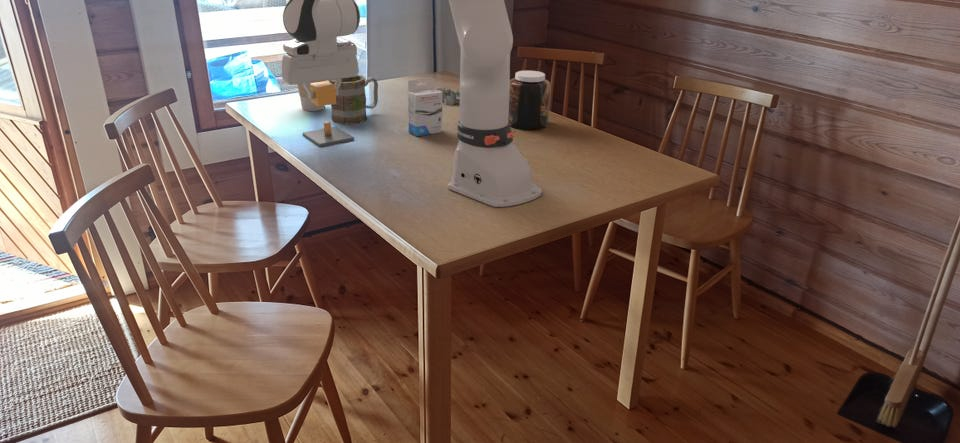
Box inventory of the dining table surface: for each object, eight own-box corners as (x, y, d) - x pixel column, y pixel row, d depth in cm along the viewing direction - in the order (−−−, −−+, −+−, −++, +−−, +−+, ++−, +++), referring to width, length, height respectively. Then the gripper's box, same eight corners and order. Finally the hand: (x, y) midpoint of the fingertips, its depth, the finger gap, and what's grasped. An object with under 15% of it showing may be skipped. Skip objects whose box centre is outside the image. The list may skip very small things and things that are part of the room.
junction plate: (354, 140, 182) (353, 124, 180) (319, 146, 177) (318, 131, 175) (336, 129, 190) (335, 114, 188) (302, 135, 185) (301, 120, 183)
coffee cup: (334, 107, 210) (330, 58, 203) (313, 113, 203) (308, 64, 197) (313, 102, 214) (309, 54, 208) (292, 108, 207) (287, 59, 201)
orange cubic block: (336, 103, 179) (335, 85, 177) (318, 106, 176) (317, 87, 174) (328, 99, 182) (326, 81, 180) (310, 101, 180) (309, 83, 177)
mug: (342, 126, 193) (339, 85, 187) (323, 117, 200) (320, 77, 195) (388, 116, 202) (387, 77, 197) (368, 108, 209) (366, 70, 204)
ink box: (416, 137, 186) (415, 84, 179) (408, 132, 189) (406, 80, 183) (443, 132, 190) (443, 80, 184) (434, 127, 194) (433, 76, 187)
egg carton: (466, 103, 217) (466, 91, 216) (445, 106, 214) (446, 94, 212) (450, 95, 226) (450, 83, 224) (430, 98, 222) (430, 86, 220)
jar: (518, 132, 191) (521, 80, 185) (500, 120, 201) (502, 70, 194) (554, 128, 196) (558, 76, 189) (535, 116, 205) (538, 67, 199)
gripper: (350, 38, 180) (353, 89, 186) (276, 45, 169) (282, 99, 175) (361, 42, 176) (363, 94, 182) (286, 49, 165) (291, 105, 171)
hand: (323, 96), depth 178 cm, fingers closed on orange cubic block, 5 cm apart
